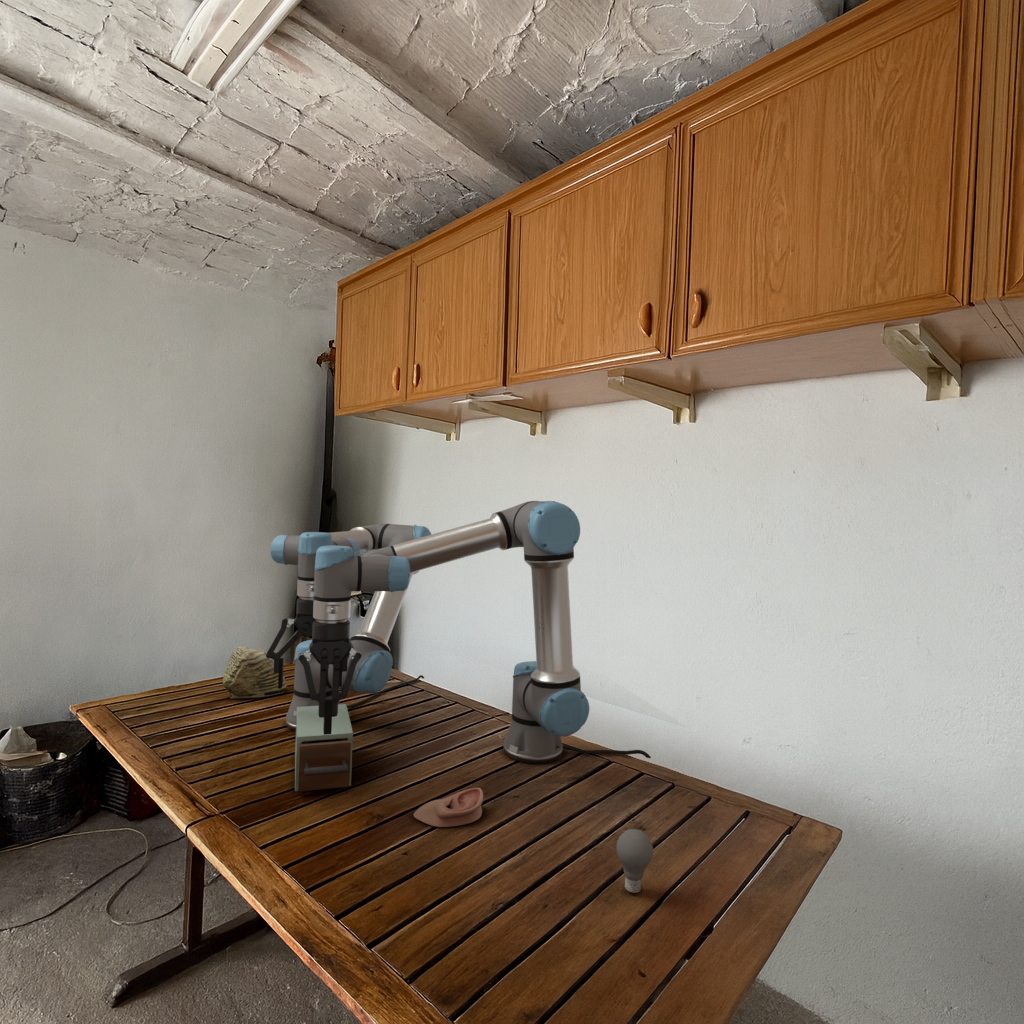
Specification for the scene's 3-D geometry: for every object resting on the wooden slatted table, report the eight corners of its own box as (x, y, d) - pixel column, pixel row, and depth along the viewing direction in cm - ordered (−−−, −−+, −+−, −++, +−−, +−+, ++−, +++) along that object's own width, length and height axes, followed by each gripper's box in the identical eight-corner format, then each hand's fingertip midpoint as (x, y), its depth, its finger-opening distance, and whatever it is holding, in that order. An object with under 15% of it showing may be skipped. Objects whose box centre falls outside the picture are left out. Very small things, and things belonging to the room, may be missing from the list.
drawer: (351, 797, 132) (353, 751, 132) (298, 803, 128) (300, 756, 128) (343, 753, 154) (344, 713, 154) (297, 756, 151) (299, 716, 151)
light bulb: (610, 879, 108) (613, 822, 108) (644, 879, 109) (647, 822, 109) (619, 902, 102) (622, 840, 102) (655, 901, 103) (658, 840, 103)
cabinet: (350, 785, 139) (353, 732, 139) (294, 791, 136) (296, 737, 135) (344, 750, 158) (346, 703, 158) (294, 754, 154) (296, 706, 154)
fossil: (218, 695, 195) (220, 647, 195) (278, 685, 208) (279, 640, 207) (228, 703, 189) (230, 653, 188) (289, 692, 201) (290, 645, 201)
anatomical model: (408, 802, 124) (427, 778, 135) (407, 822, 124) (427, 796, 136) (473, 812, 122) (488, 786, 133) (473, 832, 122) (487, 805, 133)
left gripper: (255, 600, 144) (252, 692, 144) (367, 599, 150) (364, 688, 150) (259, 594, 151) (256, 682, 152) (366, 594, 157) (363, 679, 158)
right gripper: (298, 624, 127) (294, 741, 127) (365, 622, 131) (360, 736, 131) (298, 617, 134) (294, 727, 134) (361, 615, 138) (357, 723, 138)
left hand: (310, 686), depth 151 cm, fingers open, 13 cm apart
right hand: (327, 731), depth 133 cm, fingers closed
